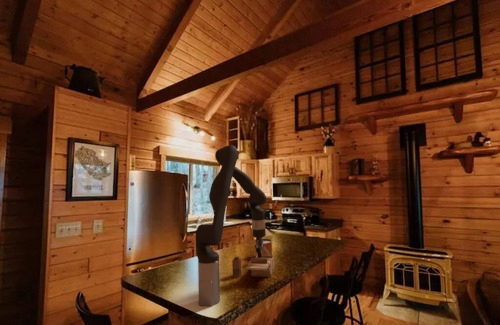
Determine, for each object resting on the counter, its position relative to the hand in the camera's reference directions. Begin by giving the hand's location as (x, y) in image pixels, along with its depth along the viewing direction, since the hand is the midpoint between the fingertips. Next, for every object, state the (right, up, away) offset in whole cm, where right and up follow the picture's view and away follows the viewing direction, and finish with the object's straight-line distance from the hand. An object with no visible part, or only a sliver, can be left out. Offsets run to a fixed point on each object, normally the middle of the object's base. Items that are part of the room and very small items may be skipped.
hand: (259, 259), depth 144 cm
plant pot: (+5, -14, +42) cm, 44 cm away
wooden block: (-13, -10, +2) cm, 16 cm away
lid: (0, -2, -3) cm, 3 cm away
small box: (+4, -12, +27) cm, 29 cm away
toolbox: (+2, -10, +8) cm, 13 cm away
